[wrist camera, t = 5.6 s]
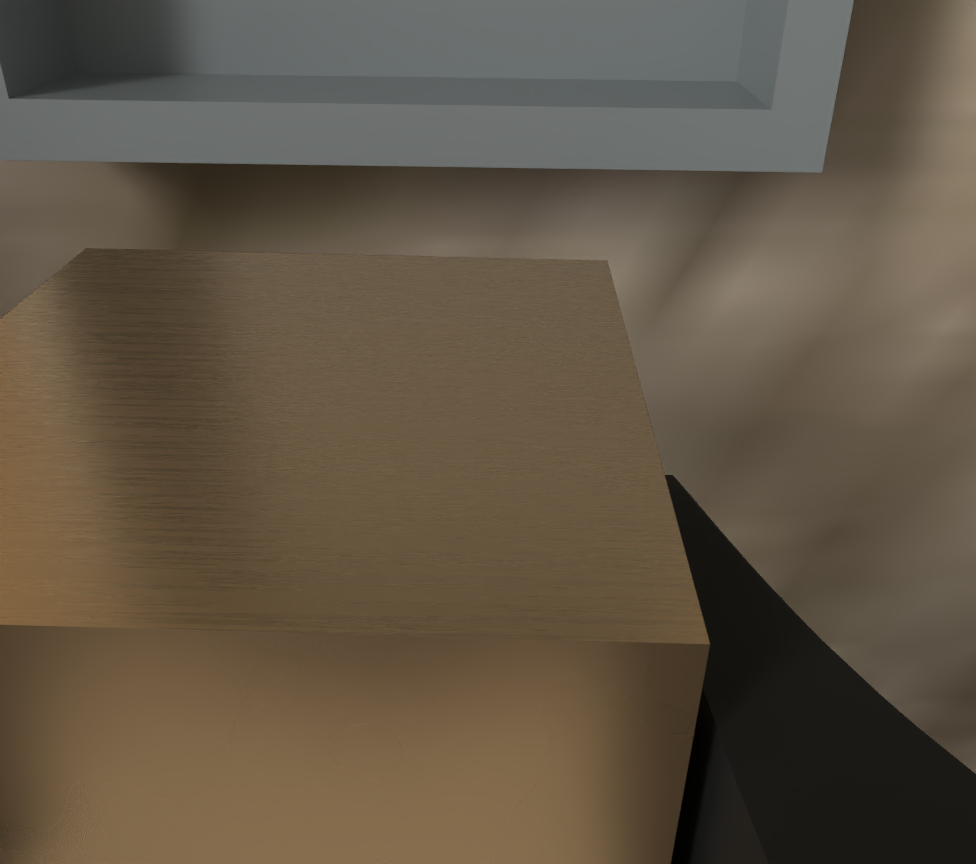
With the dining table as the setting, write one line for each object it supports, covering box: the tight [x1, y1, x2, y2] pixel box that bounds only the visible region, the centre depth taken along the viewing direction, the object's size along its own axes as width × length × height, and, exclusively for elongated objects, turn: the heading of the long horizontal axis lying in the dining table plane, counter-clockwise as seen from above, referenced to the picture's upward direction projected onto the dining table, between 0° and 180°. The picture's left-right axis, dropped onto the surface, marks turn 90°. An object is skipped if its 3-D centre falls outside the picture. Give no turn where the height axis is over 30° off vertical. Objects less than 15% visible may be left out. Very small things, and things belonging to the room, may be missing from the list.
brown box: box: [0, 248, 710, 864], centre depth 8 cm, size 5×5×6 cm
